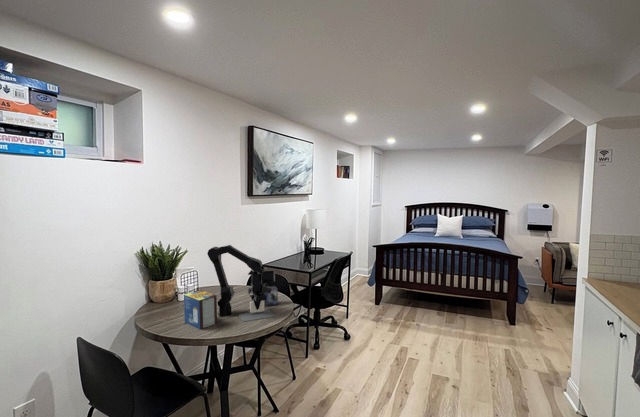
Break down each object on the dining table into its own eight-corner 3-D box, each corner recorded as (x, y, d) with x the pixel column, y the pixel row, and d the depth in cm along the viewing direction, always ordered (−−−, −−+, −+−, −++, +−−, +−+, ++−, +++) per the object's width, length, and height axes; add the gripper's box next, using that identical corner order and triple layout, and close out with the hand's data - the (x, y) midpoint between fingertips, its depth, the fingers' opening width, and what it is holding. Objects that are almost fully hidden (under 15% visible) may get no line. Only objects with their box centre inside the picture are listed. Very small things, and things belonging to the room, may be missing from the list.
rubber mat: (243, 322, 183) (243, 321, 183) (238, 315, 193) (238, 314, 193) (275, 316, 191) (275, 315, 191) (268, 310, 201) (268, 309, 201)
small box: (261, 307, 207) (261, 290, 206) (259, 304, 213) (258, 287, 212) (278, 305, 211) (278, 288, 210) (275, 302, 217) (275, 285, 216)
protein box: (201, 317, 190) (201, 290, 190) (217, 323, 180) (217, 295, 180) (184, 322, 182) (183, 294, 181) (199, 330, 172) (199, 299, 172)
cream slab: (250, 312, 192) (250, 302, 192) (249, 311, 194) (249, 301, 194) (264, 310, 196) (264, 300, 196) (263, 309, 198) (263, 299, 198)
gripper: (275, 284, 190) (275, 311, 190) (265, 276, 206) (265, 302, 207) (256, 286, 185) (256, 314, 185) (247, 278, 201) (247, 304, 202)
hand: (257, 308), depth 195 cm, fingers closed on cream slab, 2 cm apart
